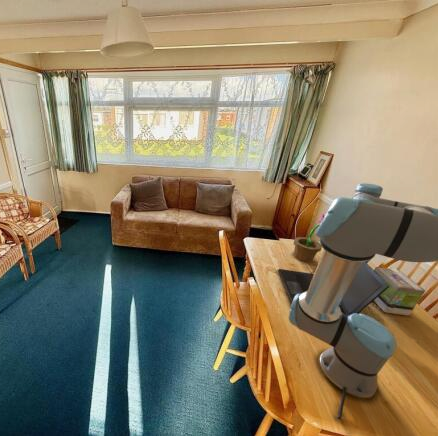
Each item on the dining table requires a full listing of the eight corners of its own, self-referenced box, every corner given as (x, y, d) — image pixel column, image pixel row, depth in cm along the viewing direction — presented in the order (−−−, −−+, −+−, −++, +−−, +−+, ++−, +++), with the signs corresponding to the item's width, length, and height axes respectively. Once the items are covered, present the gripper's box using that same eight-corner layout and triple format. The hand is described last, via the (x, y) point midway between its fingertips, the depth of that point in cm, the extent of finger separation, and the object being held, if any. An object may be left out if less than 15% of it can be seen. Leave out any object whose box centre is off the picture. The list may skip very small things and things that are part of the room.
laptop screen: (388, 285, 88) (390, 286, 88) (348, 245, 114) (349, 245, 114) (349, 319, 98) (351, 319, 98) (321, 274, 124) (322, 275, 124)
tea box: (409, 316, 101) (427, 290, 95) (383, 312, 103) (399, 287, 97) (385, 292, 114) (399, 268, 108) (362, 289, 116) (374, 266, 110)
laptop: (294, 312, 104) (295, 309, 103) (278, 271, 130) (278, 268, 129) (348, 321, 99) (349, 318, 98) (320, 277, 125) (321, 274, 124)
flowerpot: (319, 266, 134) (338, 220, 121) (292, 261, 138) (307, 216, 125) (312, 252, 146) (328, 210, 133) (287, 248, 150) (300, 207, 137)
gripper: (375, 229, 88) (352, 277, 98) (357, 215, 99) (338, 259, 110) (352, 226, 90) (332, 273, 100) (337, 213, 101) (320, 257, 111)
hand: (335, 266), depth 105 cm, fingers closed
